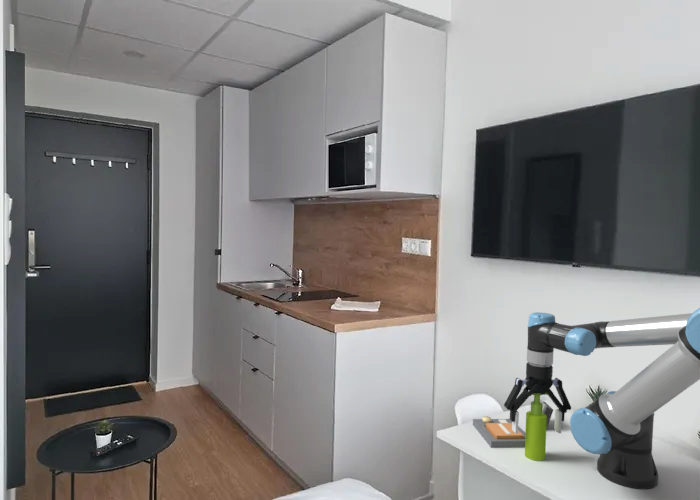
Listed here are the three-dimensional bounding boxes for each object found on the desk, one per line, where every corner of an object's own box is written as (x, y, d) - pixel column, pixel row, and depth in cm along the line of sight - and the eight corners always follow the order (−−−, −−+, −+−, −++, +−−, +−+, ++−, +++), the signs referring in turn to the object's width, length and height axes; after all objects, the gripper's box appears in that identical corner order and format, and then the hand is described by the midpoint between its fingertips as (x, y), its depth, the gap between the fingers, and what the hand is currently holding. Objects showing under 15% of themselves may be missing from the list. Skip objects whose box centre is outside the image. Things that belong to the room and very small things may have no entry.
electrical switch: (527, 420, 175) (530, 395, 174) (541, 422, 175) (544, 397, 174) (536, 431, 165) (539, 405, 165) (551, 433, 165) (554, 406, 165)
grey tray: (533, 447, 153) (534, 436, 152) (491, 447, 152) (491, 436, 151) (510, 424, 171) (511, 414, 170) (472, 424, 170) (473, 414, 169)
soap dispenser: (552, 458, 145) (554, 394, 144) (534, 462, 142) (536, 396, 142) (537, 450, 150) (540, 387, 150) (520, 453, 148) (522, 390, 147)
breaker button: (523, 444, 154) (523, 434, 154) (496, 444, 154) (496, 435, 154) (510, 431, 164) (511, 422, 164) (485, 431, 164) (485, 422, 164)
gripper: (572, 360, 150) (568, 426, 151) (495, 359, 148) (492, 426, 149) (585, 367, 142) (582, 436, 144) (504, 366, 141) (501, 436, 142)
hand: (536, 431), depth 146 cm, fingers open, 13 cm apart
